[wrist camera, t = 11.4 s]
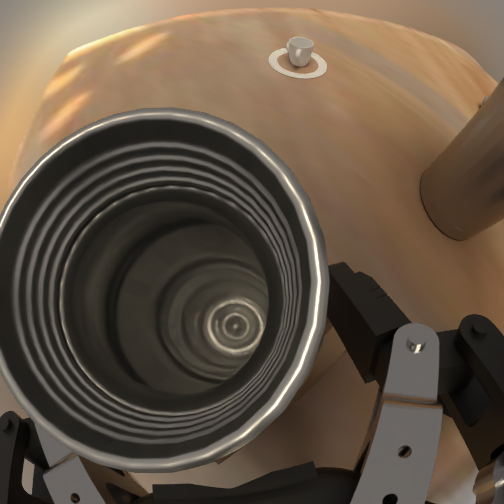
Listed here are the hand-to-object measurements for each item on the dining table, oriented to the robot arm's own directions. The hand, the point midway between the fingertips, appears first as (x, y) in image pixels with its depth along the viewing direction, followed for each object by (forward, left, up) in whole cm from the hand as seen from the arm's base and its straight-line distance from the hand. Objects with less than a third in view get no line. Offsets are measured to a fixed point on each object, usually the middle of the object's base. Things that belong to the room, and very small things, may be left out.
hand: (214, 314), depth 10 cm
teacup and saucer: (-31, -17, -14) cm, 38 cm away
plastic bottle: (0, 0, -12) cm, 12 cm away
